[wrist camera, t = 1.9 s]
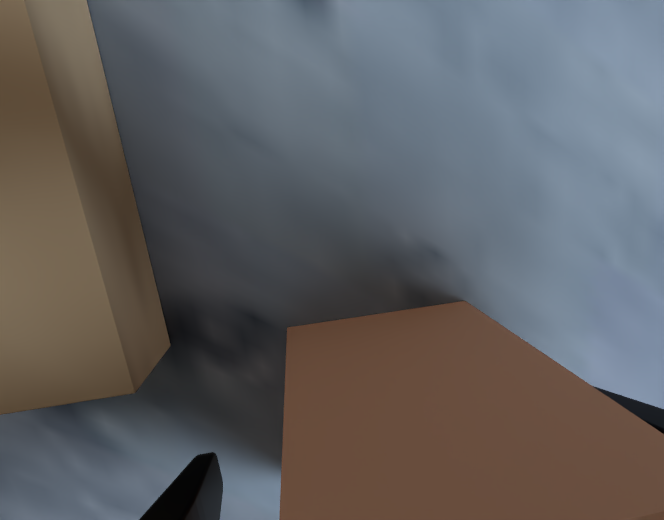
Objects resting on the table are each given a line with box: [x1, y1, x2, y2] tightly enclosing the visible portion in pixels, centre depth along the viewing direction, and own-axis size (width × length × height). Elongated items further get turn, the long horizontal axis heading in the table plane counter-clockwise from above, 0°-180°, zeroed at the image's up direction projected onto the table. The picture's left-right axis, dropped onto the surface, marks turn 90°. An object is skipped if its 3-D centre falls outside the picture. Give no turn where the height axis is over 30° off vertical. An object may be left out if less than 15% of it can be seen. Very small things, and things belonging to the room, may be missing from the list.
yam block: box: [280, 301, 664, 520], centre depth 7 cm, size 5×5×6 cm
